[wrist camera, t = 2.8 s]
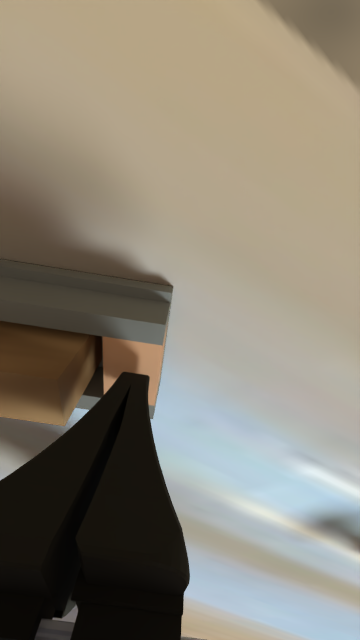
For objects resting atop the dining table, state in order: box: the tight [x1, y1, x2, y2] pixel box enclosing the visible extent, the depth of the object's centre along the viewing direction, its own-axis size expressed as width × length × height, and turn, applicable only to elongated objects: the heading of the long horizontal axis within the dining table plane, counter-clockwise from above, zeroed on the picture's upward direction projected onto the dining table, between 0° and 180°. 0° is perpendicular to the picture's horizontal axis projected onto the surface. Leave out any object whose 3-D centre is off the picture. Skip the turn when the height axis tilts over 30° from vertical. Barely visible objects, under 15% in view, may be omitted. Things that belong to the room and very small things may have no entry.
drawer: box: [0, 321, 102, 426], centre depth 12 cm, size 3×8×5 cm, turn 82°
